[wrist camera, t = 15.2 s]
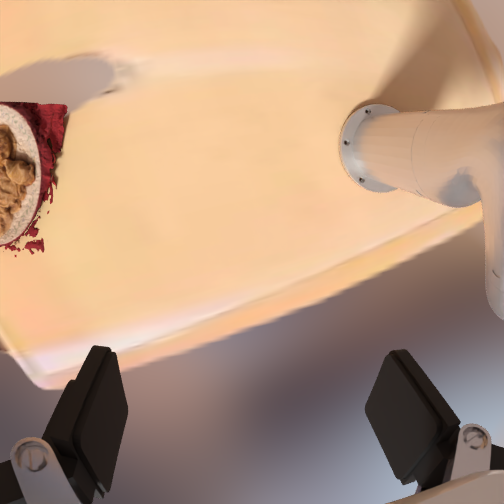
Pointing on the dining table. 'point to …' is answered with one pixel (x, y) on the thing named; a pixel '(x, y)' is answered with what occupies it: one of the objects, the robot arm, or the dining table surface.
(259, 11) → the dining table surface
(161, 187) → the dining table surface
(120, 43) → the dining table surface
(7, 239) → the plate with food
